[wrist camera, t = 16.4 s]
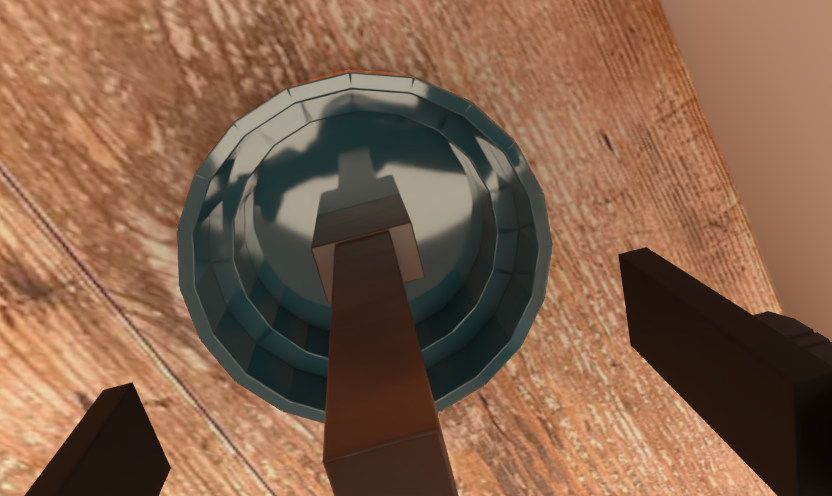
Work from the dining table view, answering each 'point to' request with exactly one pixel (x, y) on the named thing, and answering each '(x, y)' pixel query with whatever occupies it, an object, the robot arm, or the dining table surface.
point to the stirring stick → (376, 358)
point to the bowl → (346, 187)
